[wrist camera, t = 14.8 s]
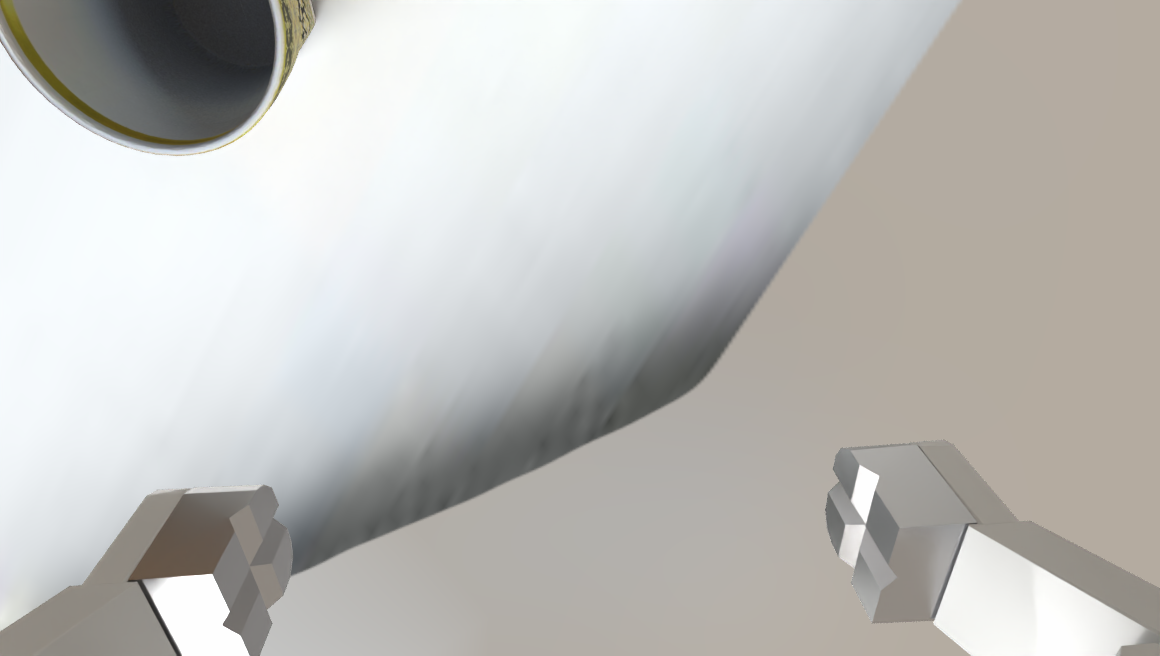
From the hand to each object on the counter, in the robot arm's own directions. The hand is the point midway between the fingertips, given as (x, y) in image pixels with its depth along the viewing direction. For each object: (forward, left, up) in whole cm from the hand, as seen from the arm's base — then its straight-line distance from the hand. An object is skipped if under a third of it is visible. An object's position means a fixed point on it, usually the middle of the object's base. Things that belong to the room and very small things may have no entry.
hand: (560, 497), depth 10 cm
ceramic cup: (-14, +7, -29) cm, 33 cm away
